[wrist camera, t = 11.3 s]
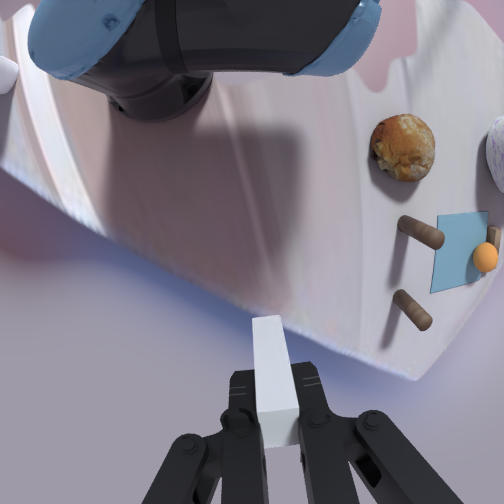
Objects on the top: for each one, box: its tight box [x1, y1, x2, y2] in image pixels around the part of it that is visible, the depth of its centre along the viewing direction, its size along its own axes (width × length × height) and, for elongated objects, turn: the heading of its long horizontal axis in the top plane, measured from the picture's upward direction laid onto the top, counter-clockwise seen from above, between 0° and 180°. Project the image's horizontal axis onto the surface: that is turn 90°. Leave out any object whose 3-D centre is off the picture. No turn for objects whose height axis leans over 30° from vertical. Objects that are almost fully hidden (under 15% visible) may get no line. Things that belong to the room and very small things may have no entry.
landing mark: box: [430, 211, 488, 293], centre depth 40 cm, size 14×14×1 cm
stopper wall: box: [486, 226, 502, 269], centre depth 39 cm, size 8×2×2 cm, turn 7°
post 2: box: [393, 289, 433, 331], centre depth 38 cm, size 3×3×9 cm
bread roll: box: [371, 114, 435, 182], centre depth 33 cm, size 10×10×8 cm
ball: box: [473, 242, 498, 272], centre depth 38 cm, size 6×6×6 cm
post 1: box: [398, 215, 445, 250], centre depth 34 cm, size 3×3×9 cm
